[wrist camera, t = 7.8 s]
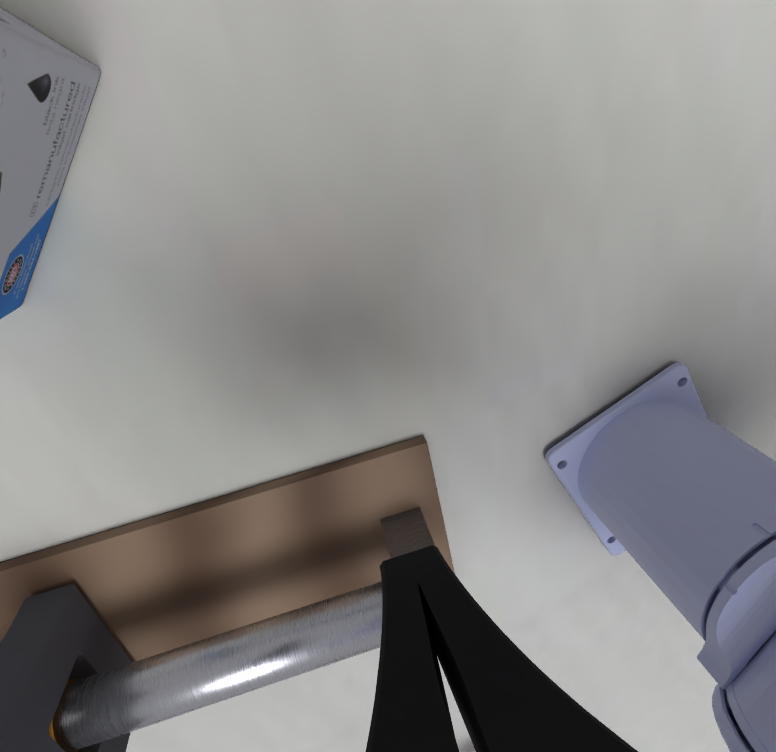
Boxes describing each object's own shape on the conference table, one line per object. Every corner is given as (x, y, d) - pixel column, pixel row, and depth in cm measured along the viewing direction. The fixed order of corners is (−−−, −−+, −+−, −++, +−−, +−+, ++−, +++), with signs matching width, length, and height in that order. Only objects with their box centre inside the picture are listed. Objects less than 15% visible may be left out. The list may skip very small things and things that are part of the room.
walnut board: (423, 435, 23) (426, 442, 22) (454, 580, 27) (457, 589, 27) (-121, 599, 20) (-131, 611, 20) (12, 726, 25) (6, 739, 24)
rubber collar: (73, 583, 21) (-13, 767, 15) (143, 677, 24) (97, 861, 18) (26, 598, 21) (-81, 790, 15) (103, 691, 24) (42, 881, 18)
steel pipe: (419, 506, 24) (453, 592, 19) (429, 550, 25) (463, 639, 20) (-53, 654, 22) (-140, 789, 17) (-13, 693, 23) (-85, 827, 18)
